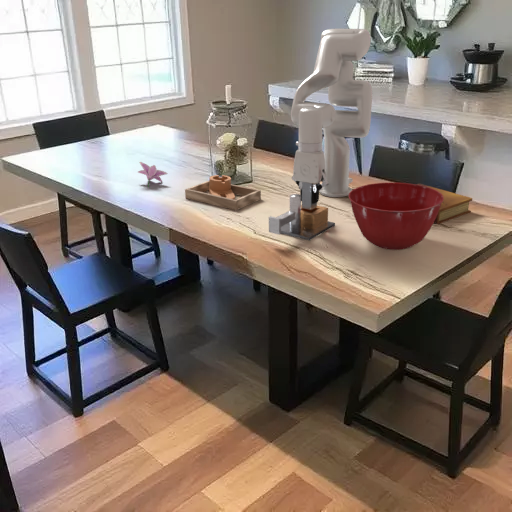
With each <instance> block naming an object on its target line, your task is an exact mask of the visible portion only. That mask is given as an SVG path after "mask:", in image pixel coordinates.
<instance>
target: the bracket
mask: <svg viewBox="0 0 512 512" xmlns="http://www.w3.org/2000/svg"><path fill="white" fill-rule="evenodd" d="M208 181H209V190H208V192H209V193H208V194H212V195H216V196H221V197H225V198H229V199H234V200H236V195H235V194H234V193H233V192H232V190H231V184H232V178H231V177H230V176H228V175H223V174H222V175H221V176H220V174H216V175H211V176H209V180H208Z"/></svg>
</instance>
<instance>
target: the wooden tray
mask: <svg viewBox="0 0 512 512" xmlns="http://www.w3.org/2000/svg"><path fill="white" fill-rule="evenodd" d="M231 190H232V192H233V193H234V195H235V196H241V197H239V198H235V200H234V199H229V198H225V197H221V196H216V195H212V194H209V193H207V192H209V180H206V181H203V182H202V183H198V184H196V185H194V186H190V187H188V188H185V189H184V195H185V199H188V200H192V201H196V202H200V203H204V204H208V205H213V206H216V207H221V208H226V209H229V210H233V211H237V210H240V209H243V208H244V207H246V206H249V205H252V204H253V203H255V202H258V201H260V200H262V197H261V196H262V192H261V190H260V189H256V188H250V187H247V186H241V185H238V184H237V185H236V184H232V183H231Z"/></svg>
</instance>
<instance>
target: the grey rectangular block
mask: <svg viewBox="0 0 512 512" xmlns="http://www.w3.org/2000/svg"><path fill="white" fill-rule="evenodd" d="M312 192H313V184H311V183H305V182H302V201H301V205H302V208H304V209H309V210H312V209H314V208H316V207H317V206H318V202H317V203H315V204H312Z"/></svg>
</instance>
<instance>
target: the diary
mask: <svg viewBox="0 0 512 512" xmlns="http://www.w3.org/2000/svg"><path fill="white" fill-rule="evenodd" d="M416 185H421V186H425V187H429V188H432V189H435V190H437V191H438V192H440V193H441V194H442V195H443V197H444V200H443V202H442V203H441V206H440V209H439V212H438V214H437V216H436V219H435V221H434V223H433V224H436V225H440V224H442V223H445V222H448V221H451V220H453V219H455V218H458V217H461V216H464V215H466V214H469V213H472V210H470V209H469V207H470V202H472V201H473V198H472V197H469V196H466V195H462V194H458V193H456V192H451V191H448V190H444V189H441V188H437V187H433V186H431V185H426V184H423V183H417V184H416Z"/></svg>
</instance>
